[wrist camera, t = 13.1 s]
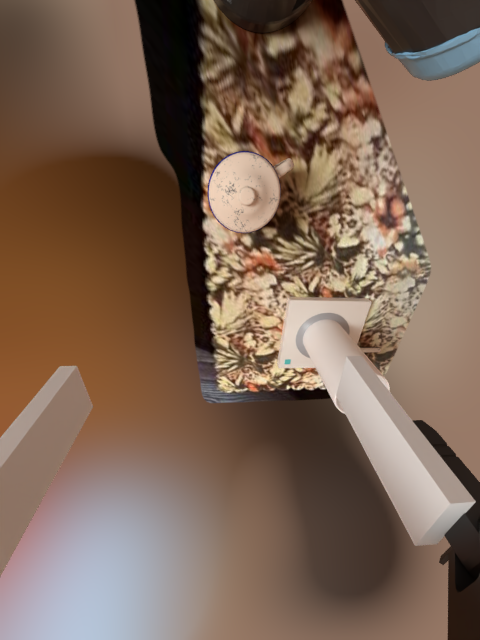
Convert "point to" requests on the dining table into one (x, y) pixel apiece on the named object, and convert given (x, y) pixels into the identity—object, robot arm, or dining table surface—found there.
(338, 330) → the cup
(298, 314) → the pad
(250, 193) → the teacup with lid
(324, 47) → the dining table surface
